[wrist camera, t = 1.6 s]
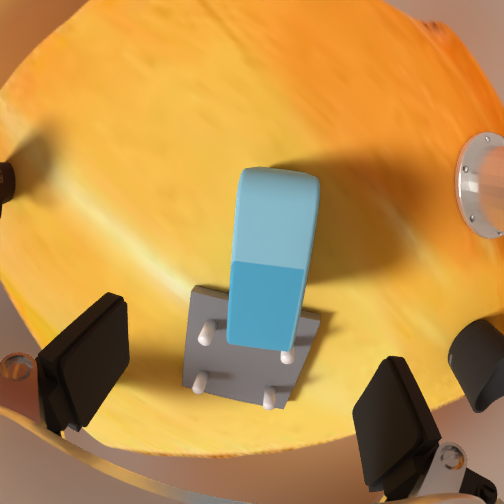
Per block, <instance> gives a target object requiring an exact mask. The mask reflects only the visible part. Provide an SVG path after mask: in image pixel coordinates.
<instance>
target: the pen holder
mask: <svg viewBox="0 0 504 504" xmlns="http://www.w3.org/2000/svg"><path fill="white" fill-rule="evenodd" d="M448 363H449V365H450V367H451V369H452V371H453V373H454V375H455V377H456V378H457V380H458V382H459V384H460V386H461V388H462V389H463V391H464V393H465V395H466V397H467V399H468V401H469V403H470V405H471V407H472V409H473V411H474V412H476V413H480V412H483V411H484V410H485V409H487V407H488V406H489V405H490V404H491V403H492V402H494V401H495V400H497V399H498V398H501V397H502V396H504V335H503V334H502V333H500V332H499V331H498V330H497V329H496V328H495V327H494V326H493V325H491V324H490V323H489V322H488V321H485V320H479V321H475V322H473V323H471V324H469V325H468V326H466V327H465V328H464V329H463V330H462V331H461V332H460V333H459V334H458V335H457V337H456V338H455V340H454V341H453V343H452V345H451V347H450V350H449V354H448Z"/></svg>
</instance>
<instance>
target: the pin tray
mask: <svg viewBox="0 0 504 504" xmlns="http://www.w3.org/2000/svg"><path fill="white" fill-rule="evenodd" d="M228 303H229V294H227V293H223V292H219V291H215V290H211V289H207V288H203V287H199V286H195V287H194V288H193V289H192V291H191V297H190V306H189V315H188V324H187V334H186V344H185V355H184V367H183V380H182V386H184V387H187V388H191V389H192V391H193V392H194V393H196V394H202V393H203V392H205V393H209V394H213V395H217V396H221V397H225V398H229V399H233V400H238V401H242V402H247V403H252V404H257V405H262V406H263V408H264V409H266V410H272V409H274V408H279V409H284V407H285V405H286V403H287V401H288V398H289V396H290V394H291V392H292V390H293V387H294V385H295V383H296V381H297V378H298V376H299V374H300V372H301V369H302V367H303V365H304V362H305V360H306V357H307V355H308V353H309V350H310V348H311V345H312V343H313V340H314V338H315V335H316V333H317V330H318V327H319V325H320V322H321V319H320V314H317V313H312V312H307V311H302V310H301V313H300V318H299V323H298V328H297V332H296V337H295V342H294V345H293V348H292V350H291V351H289V352H286V351H277V350H268V349H260V348H253V347H246V346H239V345H232V344H229V343H228V342H227V318H228Z"/></svg>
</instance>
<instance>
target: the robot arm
mask: <svg viewBox="0 0 504 504" xmlns="http://www.w3.org/2000/svg"><path fill="white" fill-rule="evenodd" d="M455 192H456V199H457V203H458V207H459V211H460V213H461V215H462V218H463V220H464V221H465V223H466V224H467V226H468V227H469V228H470V229H471V230H472V231H473V232H474V233H476V234H477V235H479V236H481V237H484V238H487V239H495V238H499V237H501V236H503V235H504V138H503V137H502V136H500V135H498V134H496V133H492V132H483V133H478V134H476V135H474V136H472V137H471V138H470V139H469V140H468V141H467V142H466V144H465V145H464V147H463V148H462V150H461V153H460V155H459V158H458V162H457V166H456V174H455ZM129 359H130V356H129V340H128V314H127V303H126V302H124V299H123V297H122V296H119V295H116V294H113V293H110V292H108V293H106V294H105V295H103V296H102V297H101V298H100V299H99V300H98V301H96V302H95V303H94V304H93V305H92V306H91V307H89V308H88V309H87V310H86V311H85V312H84V313H82V314H81V315H80V316H79V317H78V318H77V319H76V320H74V321H73V322H72V323H71V324H70V325H69V326H68V327H67V328H66V329H64V330H63V331H62V332H61V333H60V334H59V335H58V336H57V337H56V338H55V339H53V340H52V341H51V342H50V343H49V344H48V345H47V346H46V347H45V348H44V349H43V350H42V351H41V352H40V353H39V354H38V357H37V358H36V359H34V358H33V357H32V356H31V355H29V354H27V353H24V352H14V353H11V354H8V355H6V356H5V357H4V358H3V359H2V360H1V362H0V504H256V503H248V502H241V501H235V500H229V499H224V498H219V497H213V496H209V495H205V494H201V493H196V492H192V491H189V490H185V489H181V488H178V487H174V486H171V485H168V484H165V483H162V482H158V481H155V480H153V479H150V478H147V477H144V476H142V475H139V474H136V473H134V472H131V471H129V470H126V469H124V468H121V467H119V466H117V465H115V464H112V463H110V462H108V461H106V460H104V459H102V458H100V457H97V456H95V455H93V454H91V453H89V452H87V451H85V450H83V449H81V448H80V447H77V446H76V445H74V444H72V443H70V442H68V441H67V440H65V436H64V432H63V431H64V430H65V429H66V427H67V426H69V427H70V428H72V429H73V430H75V431H77V432H79V431H80V429H81V428H82V426H83V427H86V426H87V425H88V424H89V423H90V421H91V420H92V418H93V416H94V415H95V413H96V412H97V410H98V409H99V407H100V406H101V404H102V403H103V401H104V400H105V398H106V397H107V395H108V394H109V392H110V391H111V389H112V388H113V387H114V385H115V384H116V382H117V381H118V379H119V378H120V376H121V375H122V373H123V372H124V370H125V369H126V368H127V366H128V364H129ZM352 415H353V420H354V425H355V430H356V435H357V440H358V445H359V451H360V457H361V462H362V468H363V474H364V481H365V484H366V485H367V486H369V492H376V491H382V490H384V494H385V495H384V496H383V498H382V499H381V501H380V502H379V503H374V504H504V503H503V502H502V500H501V499H500V498H498V499H497V489H496V487H495V485H494V484H493V483H492V482H491V481H490V480H488V479H486V478H484V477H482V476H480V475H479V474H477V473H475V472H473V471H472V470H470V469H468V468H467V467H466V466H467V456H466V453H465V451H464V450H463V449H462V448H461V447H460V446H459V445H458V444H456V443H453V442H445V443H442V444H441V445H440V446H439V443H438V441H439V440H440V439H441V438H442V437H441V435H440V433H439V430H438V428H437V426H436V423H435V421H434V419H433V416H432V414H431V412H430V410H429V408H428V405H427V403H426V401H425V399H424V397H423V395H422V393H421V391H420V388H419V386H418V384H417V382H416V380H415V378H414V376H413V374H412V372H411V370H410V368H409V366H408V365H407V363H406V361H405V359H404V358H403V357H397V356H388V357H387V358H386V359H384V360H383V361H382V362H381V364H380V365H379V367H378V369H377V371H376V372H375V374H374V376H373V377H372V379H371V381H370V382H369V384H368V386H367V387H366V389H365V391H364V392H363V394H362V395H361V397H360V398H359V400H358V401H357V403H356V404H355V406H354V408H353V413H352Z"/></svg>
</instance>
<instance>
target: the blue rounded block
mask: <svg viewBox="0 0 504 504" xmlns="http://www.w3.org/2000/svg"><path fill="white" fill-rule="evenodd" d="M319 201H320V182H319V179H318V178H317V177H316V176H313V175H310V174H308V173H305V172H300V171H293V170H285V169H276V168H267V167H252V168H246V169H244V170H243V171H242V173H241V176H240V179H239V184H238V190H237V199H236V211H235V223H234V235H233V248H232V261H231V274H230V288H229V303H228V318H227V342H228V343H229V344H232V345H239V346H246V347H253V348H260V349H268V350H277V351H286V352H289V351H291V350H292V348H293V345H294V342H295V337H296V332H297V328H298V323H299V318H300V313H301V308H302V303H303V298H304V293H305V288H306V283H307V277H308V272H309V266H310V260H311V254H312V248H313V242H314V236H315V230H316V223H317V216H318V210H319Z"/></svg>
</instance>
